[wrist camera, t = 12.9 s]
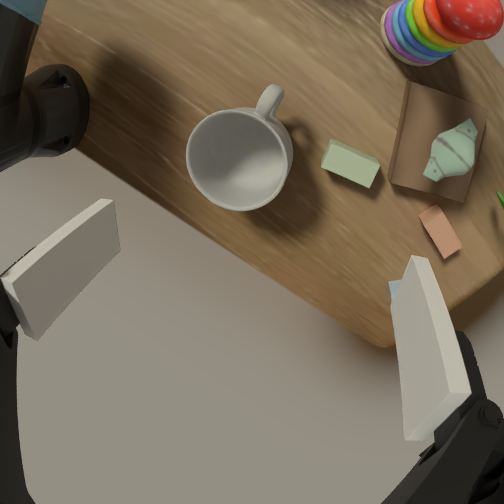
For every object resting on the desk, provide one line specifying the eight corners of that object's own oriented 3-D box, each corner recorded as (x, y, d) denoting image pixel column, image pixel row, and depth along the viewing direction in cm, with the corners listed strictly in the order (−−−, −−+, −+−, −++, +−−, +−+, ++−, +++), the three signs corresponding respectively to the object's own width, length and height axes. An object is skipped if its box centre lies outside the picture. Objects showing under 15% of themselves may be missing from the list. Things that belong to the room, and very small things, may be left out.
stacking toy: (449, 66, 26) (540, 71, 11) (386, 67, 29) (441, 61, 13) (435, 4, 23) (513, -36, 7) (371, 4, 25) (408, -55, 10)
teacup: (259, 202, 41) (244, 231, 35) (193, 151, 39) (165, 169, 33) (332, 123, 34) (333, 135, 27) (259, 64, 32) (241, 62, 25)
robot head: (449, 107, 27) (474, 116, 21) (472, 132, 28) (499, 146, 22) (407, 158, 31) (423, 176, 26) (431, 181, 32) (450, 203, 26)
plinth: (387, 176, 35) (390, 183, 33) (406, 81, 29) (411, 81, 27) (456, 195, 34) (463, 203, 32) (479, 106, 28) (488, 109, 26)
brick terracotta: (418, 215, 37) (423, 225, 35) (436, 202, 36) (442, 211, 33) (438, 247, 39) (444, 258, 36) (455, 235, 37) (462, 246, 35)
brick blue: (390, 297, 44) (392, 310, 42) (388, 281, 43) (390, 294, 41) (427, 289, 42) (432, 302, 40) (426, 273, 41) (431, 285, 38)
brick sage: (321, 160, 37) (321, 167, 34) (330, 138, 35) (331, 143, 33) (366, 180, 37) (369, 188, 34) (376, 158, 35) (380, 165, 32)
